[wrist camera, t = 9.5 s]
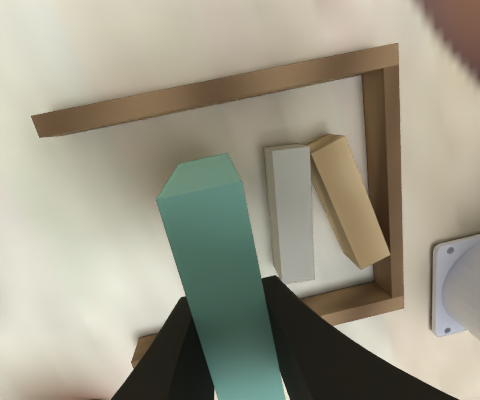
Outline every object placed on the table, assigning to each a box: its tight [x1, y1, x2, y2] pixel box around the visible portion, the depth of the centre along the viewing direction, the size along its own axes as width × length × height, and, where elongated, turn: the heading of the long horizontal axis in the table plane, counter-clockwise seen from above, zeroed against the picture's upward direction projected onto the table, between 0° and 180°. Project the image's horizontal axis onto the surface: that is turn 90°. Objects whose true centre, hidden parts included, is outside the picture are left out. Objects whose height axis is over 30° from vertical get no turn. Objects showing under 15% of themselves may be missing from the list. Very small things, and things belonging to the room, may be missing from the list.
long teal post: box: [156, 153, 285, 400], centre depth 10 cm, size 2×10×5 cm, turn 11°
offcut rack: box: [31, 43, 404, 368], centre depth 16 cm, size 18×16×2 cm
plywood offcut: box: [306, 134, 390, 270], centre depth 16 cm, size 2×8×2 cm, turn 27°
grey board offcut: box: [264, 144, 315, 284], centre depth 16 cm, size 2×8×2 cm, turn 6°
